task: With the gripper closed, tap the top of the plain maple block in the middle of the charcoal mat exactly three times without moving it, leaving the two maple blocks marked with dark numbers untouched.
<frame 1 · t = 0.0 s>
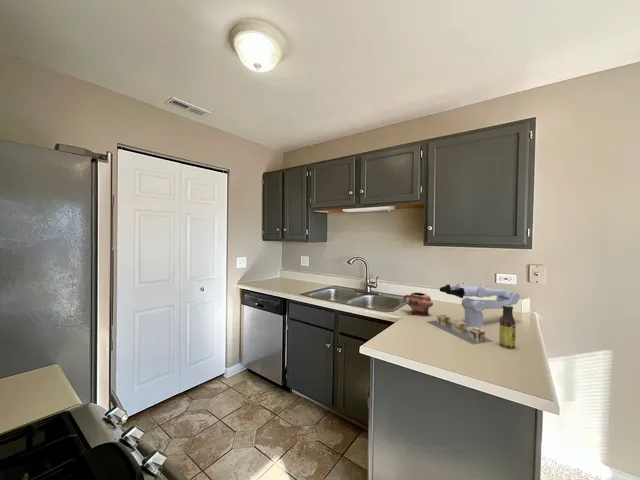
hand: (445, 290, 150), 22 cm above the worktop, tool horizontal, fingers open, 7 cm apart
sauce bottle: (507, 347, 127), on the worktop
plain maple block: (458, 331, 145), point 1 cm above the worktop, touching charcoal mat
maple block marked 7: (476, 339, 134), point 1 cm above the worktop, touching charcoal mat
charcoal mat: (456, 331, 147), on the worktop
maple block marked 1: (443, 324, 156), point 1 cm above the worktop, touching charcoal mat
decorative planter: (417, 314, 178), on the worktop
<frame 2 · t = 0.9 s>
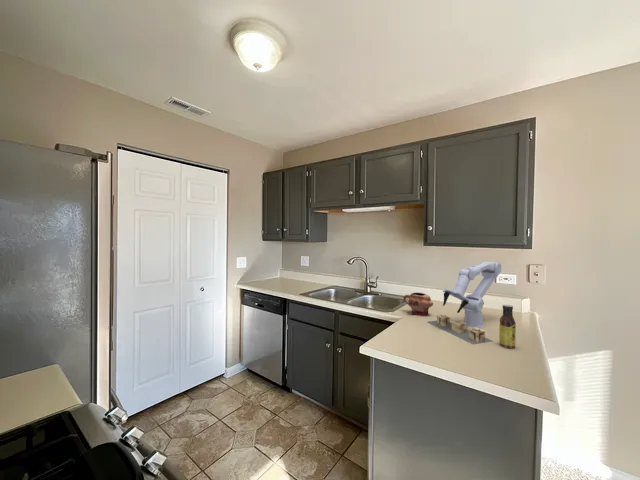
hand: (450, 308, 146), 13 cm above the worktop, tool tilted 40°, fingers open, 7 cm apart
nothing on the worktop moved.
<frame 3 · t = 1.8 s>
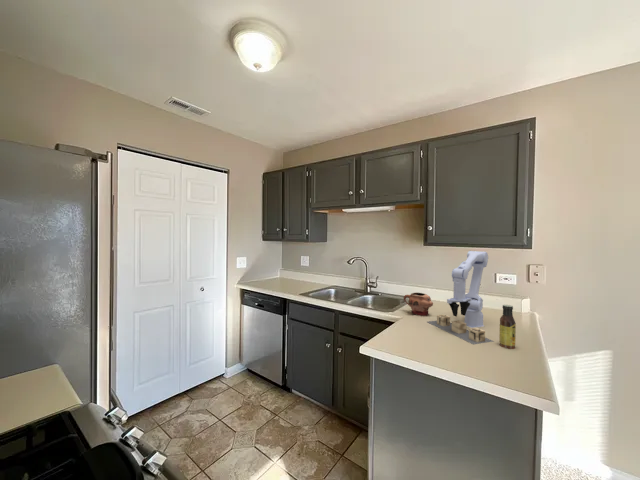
hand: (459, 315, 145), 9 cm above the worktop, tool pointing down, fingers open, 5 cm apart
nothing on the worktop moved.
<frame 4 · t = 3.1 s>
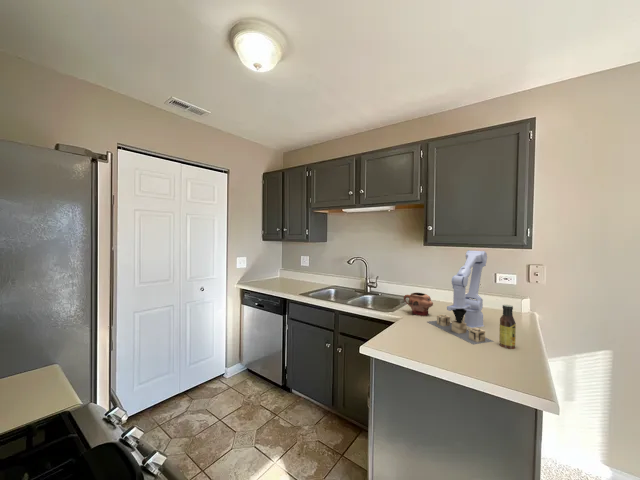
hand: (458, 322, 145), 6 cm above the worktop, tool pointing down, fingers closed, pressing on plain maple block
plain maple block: (458, 331, 145), point 1 cm above the worktop, touching charcoal mat, gripper
everything else where it was.
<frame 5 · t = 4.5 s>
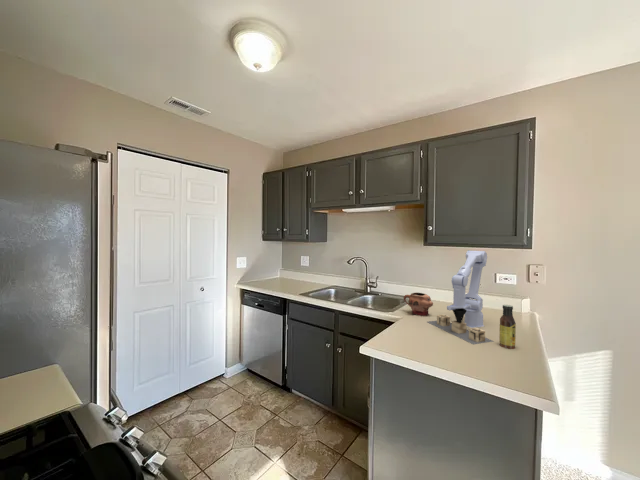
hand: (459, 322, 145), 6 cm above the worktop, tool pointing down, fingers closed
plain maple block: (458, 331, 145), point 1 cm above the worktop, touching charcoal mat
everything else where it was.
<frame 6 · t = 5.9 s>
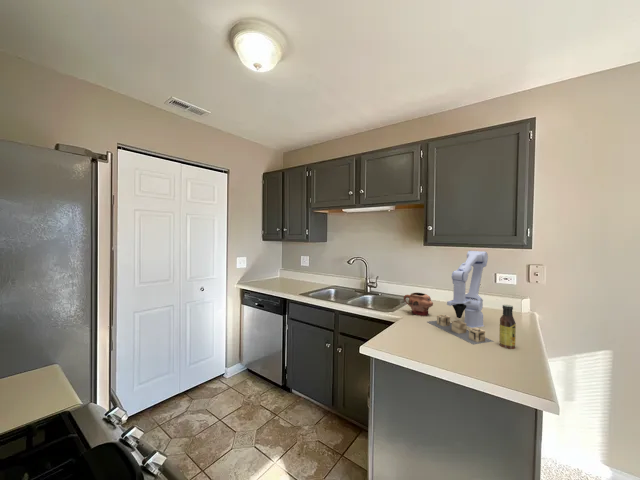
hand: (459, 317, 145), 8 cm above the worktop, tool pointing down, fingers closed
nothing on the worktop moved.
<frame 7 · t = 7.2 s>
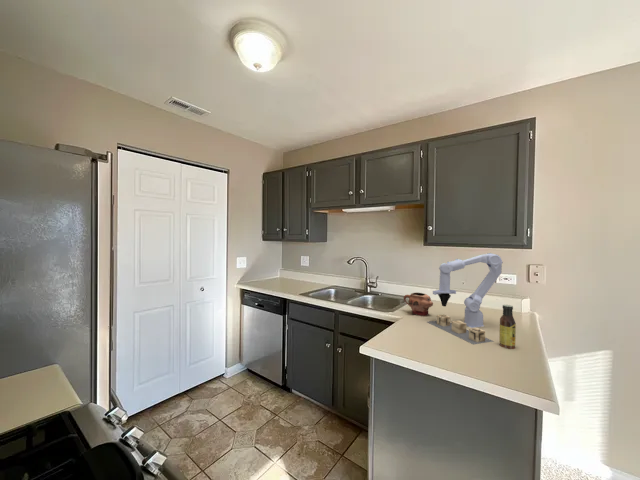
hand: (443, 306, 160), 10 cm above the worktop, tool pointing down, fingers closed
nothing on the worktop moved.
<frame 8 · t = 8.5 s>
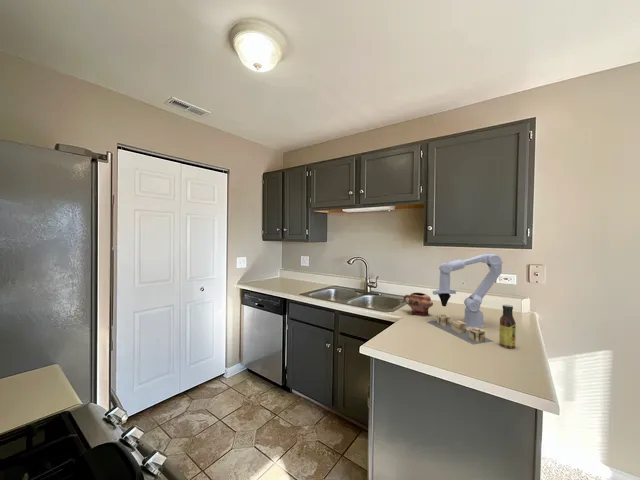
hand: (443, 306, 160), 10 cm above the worktop, tool pointing down, fingers closed
nothing on the worktop moved.
at the end: plain maple block moved 0.0 cm from its start; maple block marked 1 moved 0.0 cm from its start; maple block marked 7 moved 0.0 cm from its start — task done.
